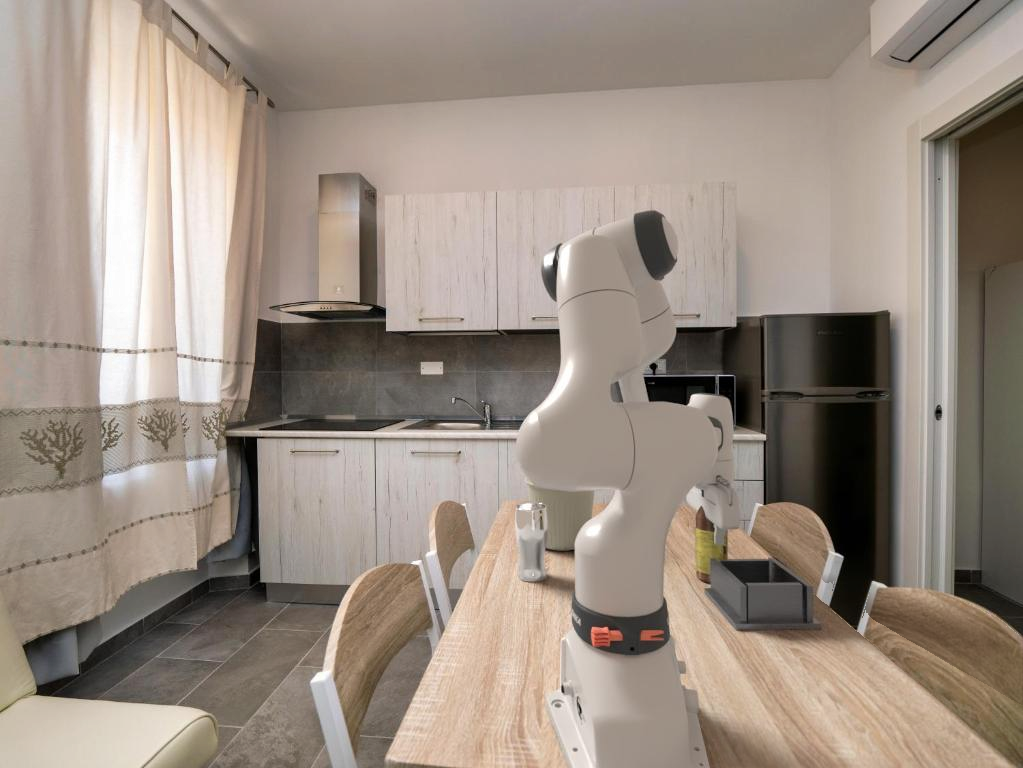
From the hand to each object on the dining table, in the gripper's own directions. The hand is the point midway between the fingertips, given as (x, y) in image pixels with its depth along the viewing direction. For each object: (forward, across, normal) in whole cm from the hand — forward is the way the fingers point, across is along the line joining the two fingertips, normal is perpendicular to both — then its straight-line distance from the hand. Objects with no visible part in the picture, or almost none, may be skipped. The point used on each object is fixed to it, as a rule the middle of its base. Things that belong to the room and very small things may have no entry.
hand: (711, 537), depth 104 cm
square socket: (+8, -14, -3) cm, 17 cm away
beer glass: (+8, +2, +37) cm, 38 cm away
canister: (+9, +22, +29) cm, 37 cm away
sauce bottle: (+9, 0, 0) cm, 9 cm away
